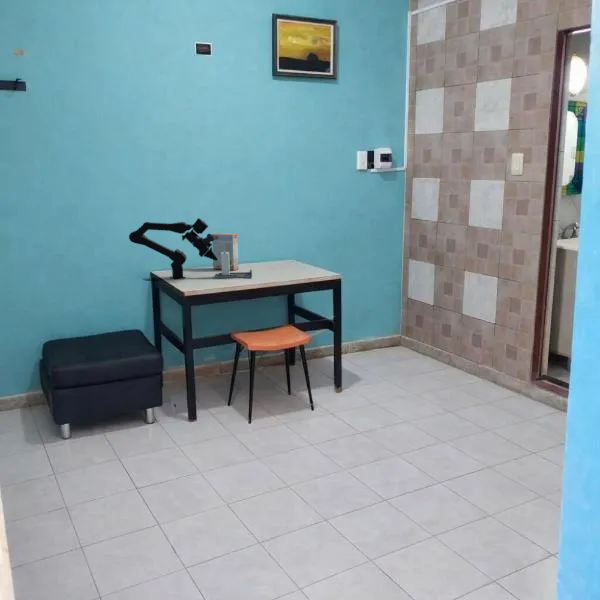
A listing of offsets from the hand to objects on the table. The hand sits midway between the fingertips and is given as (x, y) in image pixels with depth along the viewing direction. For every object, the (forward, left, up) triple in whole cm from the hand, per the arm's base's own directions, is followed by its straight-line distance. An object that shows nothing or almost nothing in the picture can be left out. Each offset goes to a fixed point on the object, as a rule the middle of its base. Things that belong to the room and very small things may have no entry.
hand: (217, 260), depth 351 cm
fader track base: (+4, +7, -9) cm, 13 cm away
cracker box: (-21, +15, -10) cm, 28 cm away
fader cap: (+2, +4, -8) cm, 9 cm away
